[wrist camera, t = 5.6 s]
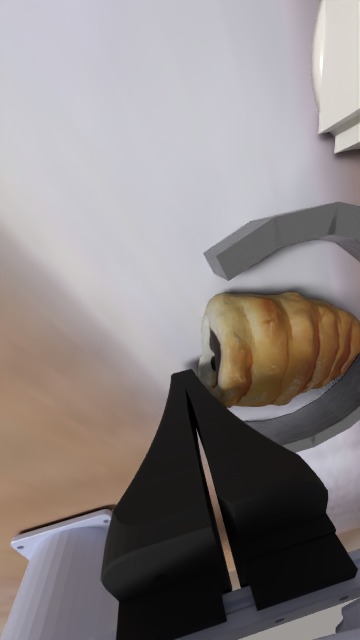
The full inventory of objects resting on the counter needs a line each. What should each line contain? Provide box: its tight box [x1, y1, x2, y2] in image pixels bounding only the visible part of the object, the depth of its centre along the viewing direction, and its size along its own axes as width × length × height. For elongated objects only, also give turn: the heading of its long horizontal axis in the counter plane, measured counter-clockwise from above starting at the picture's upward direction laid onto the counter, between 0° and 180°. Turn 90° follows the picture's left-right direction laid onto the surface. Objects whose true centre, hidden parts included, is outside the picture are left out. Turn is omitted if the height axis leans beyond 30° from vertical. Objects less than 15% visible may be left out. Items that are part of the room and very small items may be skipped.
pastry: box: [198, 292, 360, 408], centre depth 11 cm, size 9×7×4 cm
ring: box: [204, 202, 360, 453], centre depth 12 cm, size 15×12×2 cm
